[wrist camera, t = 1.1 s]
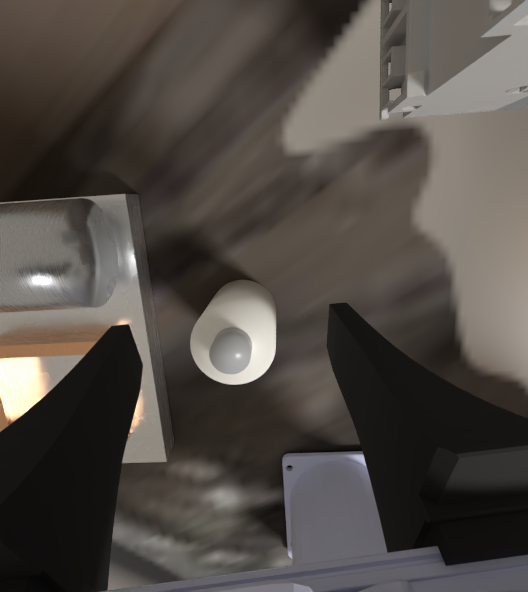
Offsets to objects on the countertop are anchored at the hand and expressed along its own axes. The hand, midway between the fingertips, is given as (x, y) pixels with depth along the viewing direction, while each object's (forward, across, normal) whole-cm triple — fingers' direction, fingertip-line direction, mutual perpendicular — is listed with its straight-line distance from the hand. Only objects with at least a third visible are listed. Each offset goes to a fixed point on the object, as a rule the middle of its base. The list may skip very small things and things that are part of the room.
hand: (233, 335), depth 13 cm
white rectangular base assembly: (+10, +12, +7) cm, 17 cm away
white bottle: (+9, 0, +6) cm, 11 cm away
